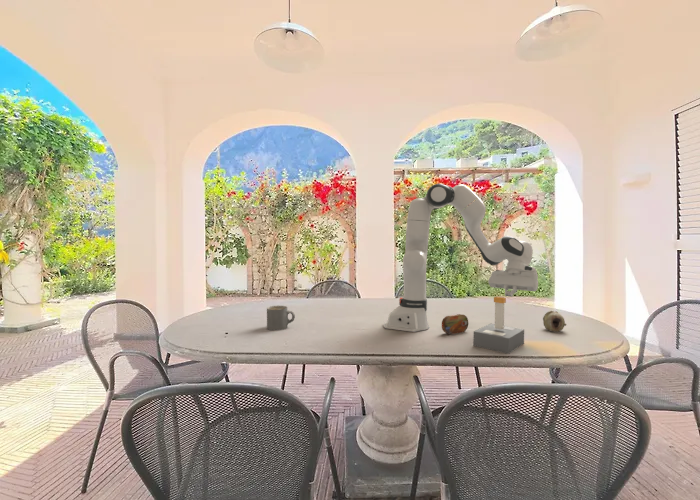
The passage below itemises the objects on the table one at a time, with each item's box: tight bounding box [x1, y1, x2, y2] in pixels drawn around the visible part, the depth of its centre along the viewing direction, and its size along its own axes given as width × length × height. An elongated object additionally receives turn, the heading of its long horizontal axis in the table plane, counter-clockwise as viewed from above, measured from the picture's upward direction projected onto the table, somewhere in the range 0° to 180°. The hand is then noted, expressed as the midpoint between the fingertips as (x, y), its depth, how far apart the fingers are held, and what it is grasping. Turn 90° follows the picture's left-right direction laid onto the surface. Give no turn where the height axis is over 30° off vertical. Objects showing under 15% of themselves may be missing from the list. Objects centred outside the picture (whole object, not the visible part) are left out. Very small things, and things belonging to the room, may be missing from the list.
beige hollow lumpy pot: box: [542, 310, 567, 333], centre depth 164 cm, size 9×8×10 cm
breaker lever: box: [493, 296, 507, 330], centre depth 142 cm, size 2×4×13 cm, turn 46°
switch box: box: [472, 323, 525, 354], centre depth 142 cm, size 18×14×6 cm
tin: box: [441, 313, 469, 335], centre depth 160 cm, size 15×3×8 cm, turn 118°
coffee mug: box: [266, 305, 296, 331], centre depth 167 cm, size 13×10×10 cm
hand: (508, 295), depth 148 cm, fingers closed
